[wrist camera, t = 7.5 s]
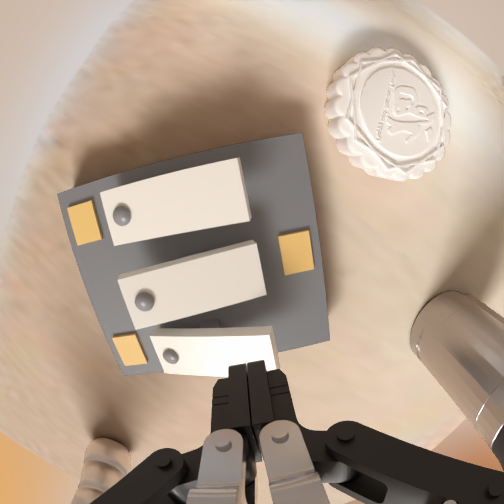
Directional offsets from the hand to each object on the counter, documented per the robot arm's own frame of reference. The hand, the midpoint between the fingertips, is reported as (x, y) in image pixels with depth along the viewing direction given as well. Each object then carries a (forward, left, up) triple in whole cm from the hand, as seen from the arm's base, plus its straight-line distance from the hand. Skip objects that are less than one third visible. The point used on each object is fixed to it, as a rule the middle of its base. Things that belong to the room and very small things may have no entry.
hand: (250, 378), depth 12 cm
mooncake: (-16, -11, -16) cm, 25 cm away
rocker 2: (+3, +5, -10) cm, 12 cm away
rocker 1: (+3, -7, -10) cm, 13 cm away
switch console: (+3, -1, -16) cm, 16 cm away
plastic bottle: (+23, +23, -16) cm, 37 cm away
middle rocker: (+3, -1, -10) cm, 11 cm away
